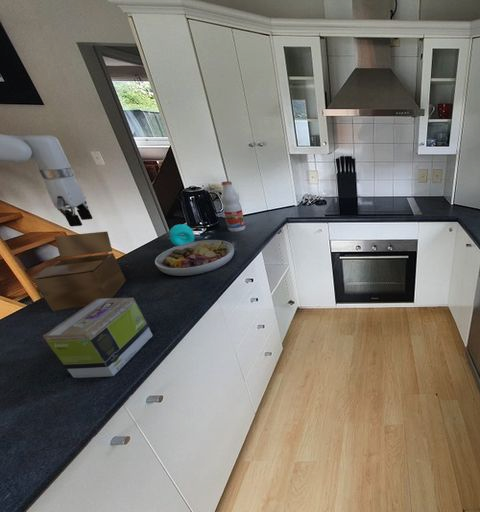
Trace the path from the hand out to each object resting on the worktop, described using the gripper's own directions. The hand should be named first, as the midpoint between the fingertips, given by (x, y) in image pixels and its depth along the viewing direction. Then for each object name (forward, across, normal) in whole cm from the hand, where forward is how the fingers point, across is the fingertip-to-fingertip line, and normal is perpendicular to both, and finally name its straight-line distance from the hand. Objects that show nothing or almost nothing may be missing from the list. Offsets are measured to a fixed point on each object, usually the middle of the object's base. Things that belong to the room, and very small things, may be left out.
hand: (81, 222), depth 102 cm
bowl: (+24, -1, +32) cm, 40 cm away
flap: (+7, +5, 0) cm, 9 cm away
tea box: (+24, +54, +20) cm, 62 cm away
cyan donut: (+24, -27, +22) cm, 42 cm away
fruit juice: (+24, -42, +46) cm, 67 cm away
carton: (+24, +14, 0) cm, 28 cm away
